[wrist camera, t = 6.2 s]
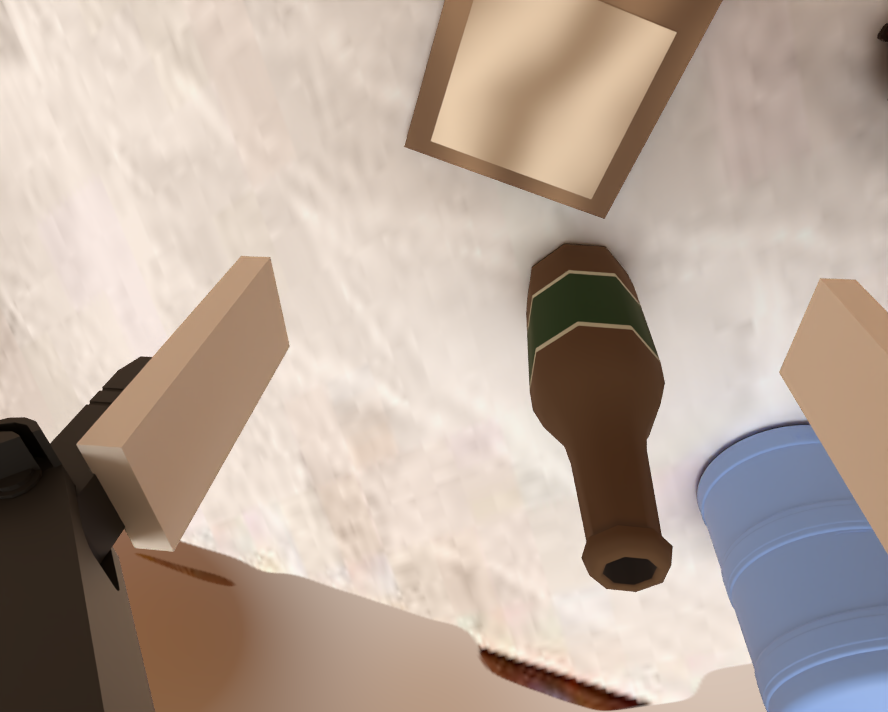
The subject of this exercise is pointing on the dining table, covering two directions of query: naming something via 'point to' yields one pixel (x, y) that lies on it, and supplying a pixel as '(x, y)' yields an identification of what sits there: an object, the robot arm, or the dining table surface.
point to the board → (553, 89)
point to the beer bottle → (600, 406)
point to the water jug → (800, 573)
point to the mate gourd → (884, 33)
